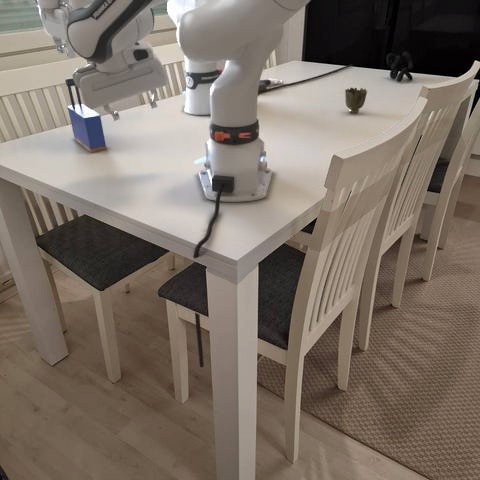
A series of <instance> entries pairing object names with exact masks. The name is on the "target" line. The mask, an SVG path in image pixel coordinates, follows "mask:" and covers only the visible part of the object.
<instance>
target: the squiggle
mask: <svg viewBox="0 0 480 480" xmlns="http://www.w3.org/2000/svg"><path fill="white" fill-rule="evenodd" d="M401 57H402V59H401ZM391 59H392V60H391ZM393 60H394V61H393ZM385 61H386V64H387V67H390V68H391V70H390V72H389V78H390V79H391V80H395V79H396V81H397V82H399V83H400V82H402V81H403V79H404V76H406V78H407V80H408V81H412V80H413V79H414V77H413V75H412V74H411V73H410V72H409V71H410V70H412V69H413V68H414V64H413V61H412V57H411V54H410V53H409V52H408V51H403V53H402V54H401V55H396V54H394V53H392V52H390V53H387V55H386V57H385ZM406 62H407V65H408V66H407V67H405V66H404V65H405V64H406ZM400 70H401V71H400Z"/></svg>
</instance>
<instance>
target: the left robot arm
mask: <svg viewBox="0 0 480 480" xmlns="http://www.w3.org/2000/svg"><path fill="white" fill-rule="evenodd" d="M209 1H210V0H169V1H167V3H166V4H167V6H166V9H167V13H168V16H169V17H170V19H171V20H172V21H173V23H174V25H175V27H176V28H177V27H178V23H179V21H180V19H181V17H182V15H183V14H184V13H186V12H188V11H191V10H193V9H195V8H198V7H200V6H202V5H204V4H205V3H207V2H209ZM34 3H35V6H36V7H37V8H38V10H39V16H40V19H41V23H42V26H43V29H44V31H45V33H46V35H48V36H51V37H52V41H53V43H54V45H55V47H56V52H57V53H58V54H65V52H66V56H67V57H68V58H70V59H72V58H76V52H75V51H74V49H73V48H72V46H71V45H70V42H69V40H68V36H67V21H68V17H69V14H70V12H71V11H73V8H72V5H71V1H70V0H34ZM71 8H72V9H71ZM63 41H64V44H65V45H66V46H64V45H63ZM65 47H66V50H65ZM183 55H184V54H183ZM184 64H185V65H184V66H185V68H184V69H185V70H184V81H185V85H186V89H185V91H182V95H185V104H184V109H183V111H184V112H185V113H186V114H190V115H195V116H211V106H210V89H211V86H212V84H213V82H214V81H215V80H216V79H217V78H218V77H219V76H220V75H221V74H222V72H223V70H224V69H222V68H220V69H218V67H217V65H218V64H217V63H201V62H192V61H190V60H189V59H187V58H186V57H185V55H184ZM353 66H354V65H353V63H351V64H349V65H346V66H343V67H340V68H337V69H334V70H332V71H328V72H326V73H323V74H319V75H316V76H313V77H312V76H311V77H310V78H306V79H302V80H298V81H294V82H290V83H287V84H282V85H277V86H274V87H270V88H269V87H268V88H266V89H265V90H262V91H260V92H258V94H261V93H265V92H270V91H273V90H277V89H282V88H286V87H290V86H294V85H299V84H301V83H305V82H309V81H312V80H315V79H319V78H322V77H325V76H328V75H331V74H333V73H336V72H339V71H342V70H345V69H347V68H351V67H353Z"/></svg>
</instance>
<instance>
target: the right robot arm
mask: <svg viewBox="0 0 480 480" xmlns="http://www.w3.org/2000/svg"><path fill="white" fill-rule="evenodd" d="M70 1H71V5H72V7H71V8H72V10H73V11H71V12H70V14H69V17H68V21H67V36H68V40H69V42H70V45H71V46H72V48H73V49H74V51H75V54H76V55H78V56H80V57H81V58H82V59H84V60H86V61H88V62H90V63H89V64H87V65H85V66H84V65H83V66H79V67H78V68H76V69H75V70H74V72H73V73H72V78H73V80H74V83H75V85H76V86H77V87H78V89H80V93H81V96H82V100H83V101H84V105H85V106H86V107H88V108H90V109H91V110H94V109H95V110H96V109H98V108H101V107H103V109H104V111H105V112H106V113H108V114H109V115H111V116H112V118H113V121H114V122H116V121H119V120H121V116H120V114H119V111H118V110H114V109H112V108H111V104H114V103H117V102H119V101H122V100H125V99H129V98H132V97H135V96H138V95H142V94H145V93H147V92H150V94H151V98H150V99H148V102H149V106H150V108H151V109H156V108H158V105H157V102H156V101H157V97H158V91H157V89H160V88H163V87H166V86H167V85H168V83H169V77H168V75H167V73H166V72H167V71H166V70H165V67H164V66H163V63H162V62H161V60H160V58H159V56H158V55H157V54H156V53H154V49H153V46H152V45H151V43H150V42H149V41H146V40H143V39H145V38H146V37H148V36H149V35H150V34H152V32H153V31H154V27H155V14H154V10H153V8H154V7H157V6H159V5H161V4H164V3H166V2H168V1H169V0H70ZM311 1H312V0H210V1H209V2H207V3H205V4H204V5H202V6H200V7H198V8H195V9H193V10H191V11H188V12H186V13H184V14H183V15H182V17H181V19H180V21H179V23H178V27H177V26H176V40H177V44H178V47H179V49H180V51H181V53H182V54H183V55H185V57H186V58H187V59H189V60H190V61H192V62H201V63H216V64H217V63H221V62H225V64H224V65H225V66H224V67H223V69H222V70H223V72H222V74H221V75H220V76H219V77H218V78H217V79H216V80H215V81H214V82H213V84H212V86H211V89H210V106H211V115H210V120H209V126H208V129H209V139H208V140H207V141H206V142H205V143H204V144H205V145H204V148H205V149H204V150H205V152H204V153H205V156H203V157H201V158H199V159H196V160H194V161H193V162H194V165H196V164H199V163H202V162H204V161H205V162H204V164H203V165H204V168H203V169H201V170H199V171H198V178H199V181H200V185H201V187H202V190H203V193H204V196H205V199H206V200H210V201H214V202H215V203H214V212H213V215H212V216H211V218H210V220H209V222H208V225H207V228H206V233H205V235H204V237H203V238H202V239H201V240H199V241H198V243H197V244H196V246H195V247H194V251H193V257H192V258H193V259H197V258H198V257H199V254H200V250H201V247H202V246H203V245H204V244H205V243H207V242H208V240H209V239H210V237H211V234H212V230H213V226H214V223H215V221H216V220H217V218H218V215H219V211H220V203H221V202H222V203H223V202H225V203H240V202H253V201H257V200H261V199H264V198H266V196H267V193H268V190H269V187H270V186H269V185H270V183H271V180H272V177H273V170H272V169H271V168H269V167H268V161H266V160H265V158H267V151H266V150H265V141H263V140H262V138H260V121H259V118H258V100H259V97H258V96H259V93H258V87H259V82H260V80H261V78H262V76H263V71H264V69H265V67H266V64H267V62H268V60H269V58H270V56H271V54H273V52H274V51H275V49H277V48H278V47H279V45H280V43H281V42H282V39H283V35H284V24H285V23H286V22H288V21H289V20H290V19H291V18H292V17H293V16H295V15H296V14H297V13H298V12H299V11H301V10H302V9H303V8H304V7H305V6H307V5H308V4H309V3H310V2H311ZM185 57H184V58H185ZM200 317H201V316H200V313H197V312H194V318H195V330H196V340H197V350H198V351H197V352H198V363H199V367H200V368H204V365H205V362H204V352H203V351H204V350H203V341H202V330H201V329H202V328H201V318H200Z"/></svg>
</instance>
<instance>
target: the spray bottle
mask: <svg viewBox="0 0 480 480" xmlns="http://www.w3.org/2000/svg"><path fill="white" fill-rule="evenodd" d="M283 83H284V80H282V79H278V78H272V77H271V78H270V77H269V78H267V79H260V82H259V87H258V92H260V91H262V90H265V89H268V87H267V86H270V85H271V84H276V85H277V84H283Z"/></svg>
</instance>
